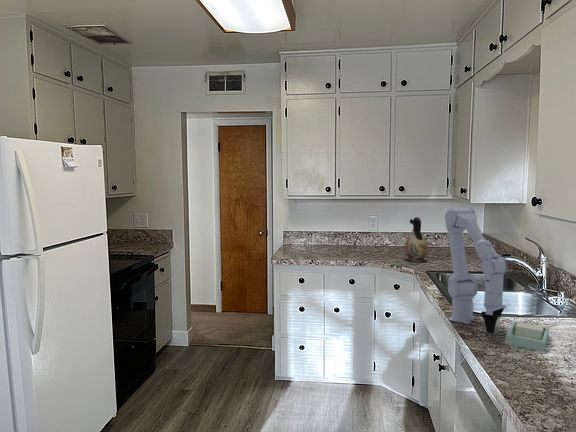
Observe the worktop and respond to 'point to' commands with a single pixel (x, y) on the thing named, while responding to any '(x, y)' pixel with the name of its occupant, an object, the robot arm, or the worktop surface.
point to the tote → (526, 339)
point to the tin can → (497, 328)
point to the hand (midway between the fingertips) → (492, 329)
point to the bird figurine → (416, 243)
